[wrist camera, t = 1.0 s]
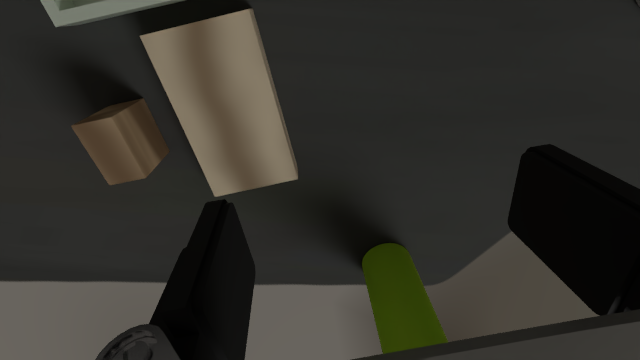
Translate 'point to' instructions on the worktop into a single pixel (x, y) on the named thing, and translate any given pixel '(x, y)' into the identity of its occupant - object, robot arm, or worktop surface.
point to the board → (225, 100)
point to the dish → (95, 9)
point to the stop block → (123, 141)
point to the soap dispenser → (399, 300)
